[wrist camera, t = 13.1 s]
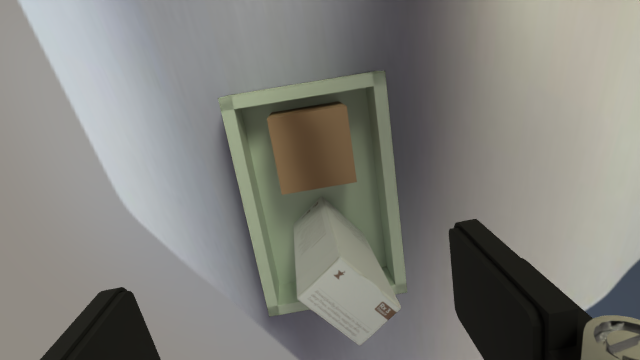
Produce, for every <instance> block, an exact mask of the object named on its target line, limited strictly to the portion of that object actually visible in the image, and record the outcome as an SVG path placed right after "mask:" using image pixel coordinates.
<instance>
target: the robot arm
mask: <svg viewBox="0 0 640 360" xmlns="http://www.w3.org/2000/svg"><path fill="white" fill-rule="evenodd" d="M449 241H450V254H451V266H452V279H453V291H454V303H455V310H456V313H457V316H458V318H459V320H460V322H461V323H462V325H463V326H464V328H465V330H466V331H467V333H468V334H469V336H470V338H471V339H472V341H473V342H474V344H475V346H476V347H477V349H478V350H479V352H480V354H481V355H482V357H483V358H484V360H640V320H637V319H633V318H631V317H624V316H617V315H613V316H601V317H597V318H592V317H590V316H589V315H588V314H587V313H586V312H585V311H584V310H583V309H581V308H580V307H579V306H578V305H577V304H576V303H574V302H573V301H572V300H571V299H570V298H569V297H568V296H566V295H565V294H564V293H563V292H562V291H561V290H560V289H558V288H557V287H556V286H555V285H554V284H553V283H551V282H550V281H549V280H548V279H547V278H546V277H545V276H543V275H542V274H541V273H540V272H539V271H538V270H537V269H535V268H534V267H533V266H532V265H531V264H530V263H528V262H527V261H526V260H524V259H523V258H520V257H519V256H518V255H517V254H516V253H515V252H513V251H512V250H511V249H510V248H509V247H508V246H507V245H505V244H504V243H503V242H502V241H501V240H500V239H499V238H498V237H496V236H495V235H494V234H493V233H492V232H491V231H490V230H488V229H487V228H486V227H485V226H484V225H483V224H482V223H480V222H479V221H478V220H477V219H473V220H467V221H462V222H457V223H455V225H454V228H452V229H450V230H449ZM40 360H160V357H159V354H158V352H157V350H156V347H155V345H154V342H153V340H152V338H151V335H150V333H149V331H148V328H147V326H146V323H145V321H144V318H143V316H142V314H141V311H140V309H139V306H138V304H137V302H136V299H135V297H134V295H133V293H132V292H131V291H127V290H126V289H125V288H123V287H120V288H116V289H110V290H105V291H101V292H100V293H98V294H97V296H96V297H95V298H94V299H93V300H92V301H91V303H90V304H89V305H88V306H87V307H86V308H85V310H84V311H83V312H82V313H81V314H80V315H79V316H78V317H77V318H76V319H75V321H74V322H73V323H72V324H71V325H70V326H69V328H68V329H67V330H66V331H65V332H64V333H63V334H62V335H61V336H60V338H59V339H58V340H57V341H56V342H55V343H54V345H53V346H52V347H51V348H50V349H49V350H48V351H47V352H46V354H45V355H44V356H43V357H42V358H41V359H40Z"/></svg>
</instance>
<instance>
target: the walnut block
mask: <svg viewBox="0 0 640 360" xmlns="http://www.w3.org/2000/svg"><path fill="white" fill-rule="evenodd" d="M267 122H268V127H269V132H270V138H271V143H272V148H273V153H274V158H275V163H276V168H277V173H278V178H279V183H280V188H281V193H282V195H284V194H290V193H296V192H302V191H308V190H314V189H319V188H325V187H331V186H337V185H343V184H349V183H355V182H357V180H356V172H355V165H354V157H353V150H352V142H351V135H350V127H349V120H348V112H347V106H346V105H344V104H343V103H341V102H339V101H337V102H331V103H325V104H319V105H313V106H307V107H301V108H295V109H289V110H283V111H277V112H271V114H270V115H269V117H268V118H267Z"/></svg>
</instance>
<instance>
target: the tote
mask: <svg viewBox="0 0 640 360" xmlns="http://www.w3.org/2000/svg"><path fill="white" fill-rule="evenodd" d="M218 100H219V104H220V109H221V113H222V117H223V121H224V126H225V130H226V134H227V138H228V143H229V147H230V151H231V155H232V160H233V164H234V168H235V172H236V177H237V181H238V185H239V189H240V194H241V198H242V202H243V206H244V211H245V215H246V219H247V224H248V228H249V232H250V236H251V241H252V245H253V249H254V253H255V258H256V262H257V266H258V270H259V275H260V279H261V283H262V287H263V292H264V296H265V300H266V304H267V309H268V313H269V317H270V316H276V315H282V314H287V313H293V312H299V311H304V310H310V308H308V307H307V306H306V305H304V304H303V303H301V302H300V301H299V300H298V299H297V287H296V270H295V252H294V233H293V224H294V223H295V222H296V221H297V220H298V219H299V218H300V217H301V216H302V215H303V214H304V213H305V212H306V211H307V210H308V209H309V208H310V207H311V206H312V205H313V204H314V203H315V202H316V201H317V200H318V199H319V198H320V197H324V198H325V199H326V200H327V201H328V202H329V203H330V204H331V205H333V206H334V207H335V208H336V209H337V210H338V211H339V212H340V213H341V214H343V215H344V216H345V217H346V218H347V219H348V220H349V221H350V222H352V223H353V224H354V225H355V226H356V227H357V228H358V229H359V230H360V231H362V232H363V234H364V235H365V237H366V239H367V241H368V243H369V245H370V247H371V249H372V251H373V253H374V255H375V257H376V259H377V261H378V263H379V265H380V266H381V268H382V270H383V272H384V274H385V276H386V278H387V280H388V282H389V284H390V286H391V288H392V290H393V292H394V294H401V293H406V292H407V285H406V275H405V265H404V255H403V245H402V235H401V225H400V215H399V205H398V195H397V185H396V175H395V165H394V155H393V146H392V136H391V126H390V116H389V106H388V96H387V86H386V76H385V71H373V72H367V73H361V74H355V75H349V76H343V77H337V78H330V79H324V80H318V81H312V82H306V83H300V84H294V85H288V86H282V87H276V88H270V89H264V90H258V91H252V92H246V93H240V94H234V95H228V96H224V97H221V98H218ZM337 101H339V102H341V103H343V104H344V105H346V106H347V112H348V120H349V127H350V135H351V142H352V150H353V157H354V165H355V172H356V180H357V182H355V183H349V184H343V185H337V186H331V187H325V188H319V189H314V190H308V191H302V192H296V193H290V194H284V195H282V193H281V188H280V183H279V178H278V173H277V168H276V163H275V158H274V153H273V148H272V143H271V138H270V132H269V127H268V122H267V118H268V117H269V115H270V114H271V112H277V111H283V110H289V109H295V108H301V107H307V106H313V105H319V104H325V103H331V102H337Z"/></svg>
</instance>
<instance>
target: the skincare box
mask: <svg viewBox="0 0 640 360" xmlns="http://www.w3.org/2000/svg"><path fill="white" fill-rule="evenodd" d="M293 233H294V252H295V270H296V287H297V299H298V300H299V301H300V302H301V303H303V304H304V305H306V306H307V307H308V308H310V309H311V310H312V311H314V312H315V313H316V314H318V315H319V316H320V317H322V318H323V319H324V320H326V321H327V322H328V323H330V324H331V325H332V326H334V327H335V328H336V329H338V330H339V331H340V332H342V333H343V334H344V335H346V336H347V337H348V338H350V339H351V340H352V341H354V342H355V343H356V344H358V345H359V346H361V345H362V344H363V343H364V342H365V341H366V340H367V339H368V338H369V337H371V336H372V335H373V334H374V333H375V332H376V331H377V330H378V329H379V328H380V327H381V326H382V325H384V324H385V323H386V322H387V321H388V320H389V319H390V318H391V317H392V316H393V315H394V314H395V313H397V312H398V311H399V310H400V309H401V306H400V304H399V302H398V300H397V298H396V296H395V294H394V292H393V290H392V288H391V286H390V284H389V282H388V280H387V278H386V276H385V274H384V272H383V270H382V268H381V266H380V265H379V263H378V261H377V259H376V257H375V255H374V253H373V251H372V249H371V247H370V245H369V243H368V241H367V239H366V237H365V235H364V234H363V232H362V231H360V230H359V229H358V228H357V227H356V226H355V225H354V224H353V223H352V222H350V221H349V220H348V219H347V218H346V217H345V216H344V215H343V214H341V213H340V212H339V211H338V210H337V209H336V208H335V207H334V206H333V205H331V204H330V203H329V202H328V201H327V200H326V199H325V198H324V197H320V198H319V199H318V200H317V201H316V202H315V203H314V204H313V205H312V206H311V207H310V208H309V209H308V210H307V211H306V212H305V213H304V214H303V215H302V216H301V217H300V218H299V219H298V220H297V221H296V222H295V223H294V224H293Z"/></svg>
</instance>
